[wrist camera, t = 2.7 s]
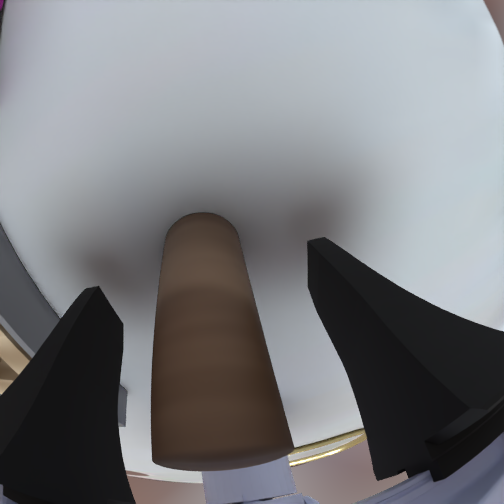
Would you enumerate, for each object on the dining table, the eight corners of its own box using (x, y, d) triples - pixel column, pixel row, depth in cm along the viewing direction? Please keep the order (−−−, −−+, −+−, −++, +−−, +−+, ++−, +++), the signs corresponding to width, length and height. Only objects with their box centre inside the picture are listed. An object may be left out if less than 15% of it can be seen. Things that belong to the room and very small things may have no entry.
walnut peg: (244, 267, 12) (294, 457, 5) (177, 281, 12) (182, 473, 5) (232, 205, 10) (294, 432, 4) (154, 222, 10) (124, 450, 3)
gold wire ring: (357, 440, 50) (359, 445, 48) (210, 472, 46) (211, 478, 44) (385, 415, 39) (388, 422, 37) (191, 459, 35) (192, 467, 33)
